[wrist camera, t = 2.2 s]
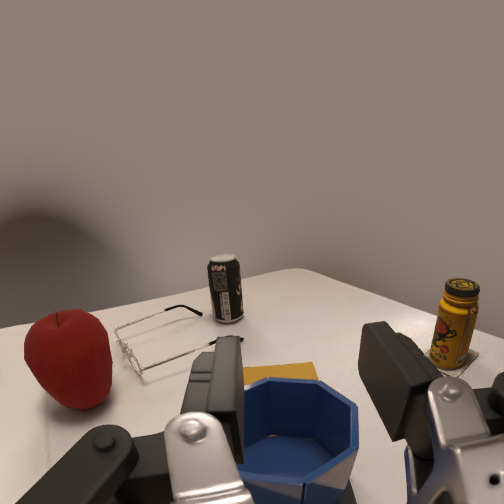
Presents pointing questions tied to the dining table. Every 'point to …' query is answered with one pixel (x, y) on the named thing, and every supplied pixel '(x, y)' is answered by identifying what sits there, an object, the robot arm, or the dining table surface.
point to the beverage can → (225, 288)
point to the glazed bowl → (297, 441)
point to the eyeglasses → (161, 361)
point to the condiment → (455, 327)
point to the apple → (70, 358)
